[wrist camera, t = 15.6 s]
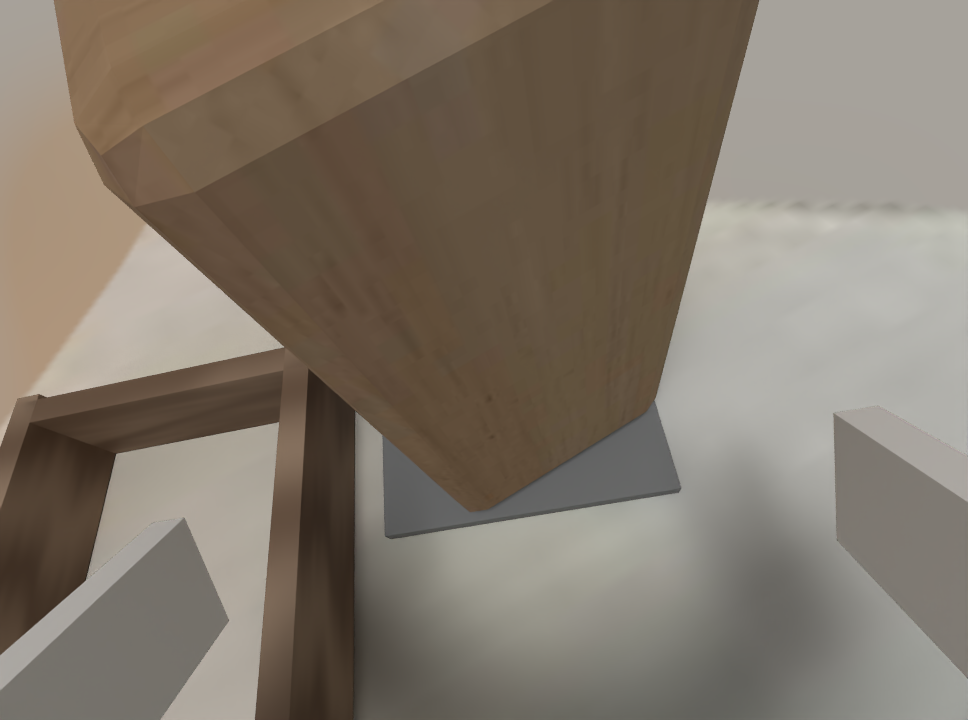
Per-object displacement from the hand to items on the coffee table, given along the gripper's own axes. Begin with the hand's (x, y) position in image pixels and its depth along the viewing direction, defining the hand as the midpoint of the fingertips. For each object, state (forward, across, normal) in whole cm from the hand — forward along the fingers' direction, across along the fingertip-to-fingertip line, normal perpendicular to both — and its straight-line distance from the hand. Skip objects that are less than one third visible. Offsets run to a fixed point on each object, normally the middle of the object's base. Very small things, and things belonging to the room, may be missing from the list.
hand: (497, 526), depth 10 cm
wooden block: (+15, 0, +2) cm, 15 cm away
